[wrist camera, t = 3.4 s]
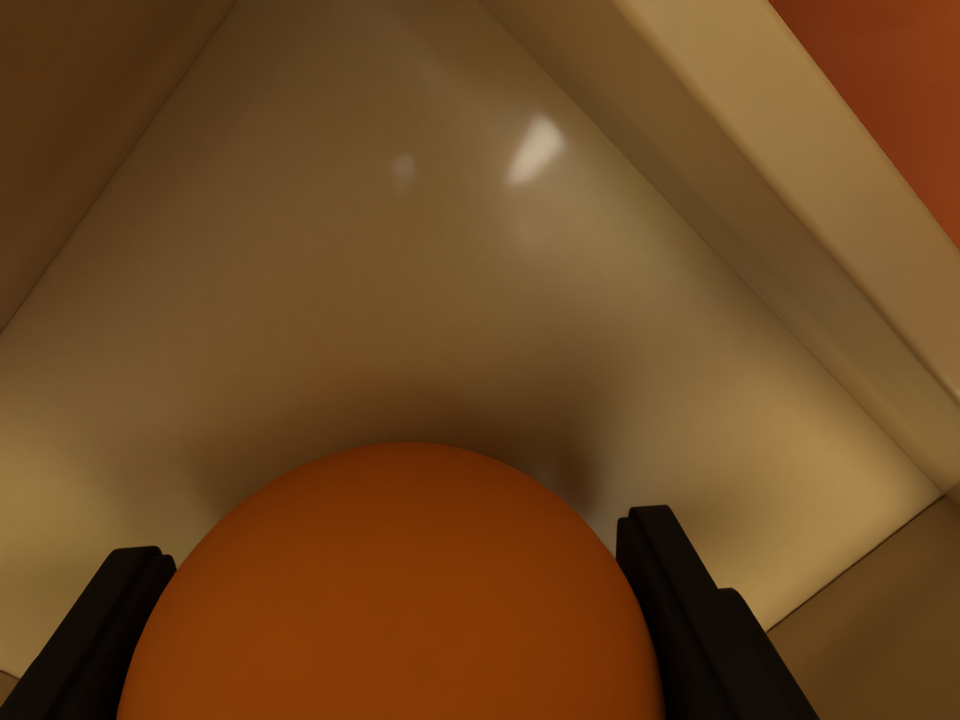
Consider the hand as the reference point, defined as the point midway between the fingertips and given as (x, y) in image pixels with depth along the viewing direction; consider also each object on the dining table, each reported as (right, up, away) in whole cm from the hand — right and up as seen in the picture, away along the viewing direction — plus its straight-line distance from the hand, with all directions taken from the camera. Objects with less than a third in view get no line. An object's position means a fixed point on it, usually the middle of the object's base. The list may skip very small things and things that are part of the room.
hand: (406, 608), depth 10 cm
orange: (0, -1, -1) cm, 2 cm away
